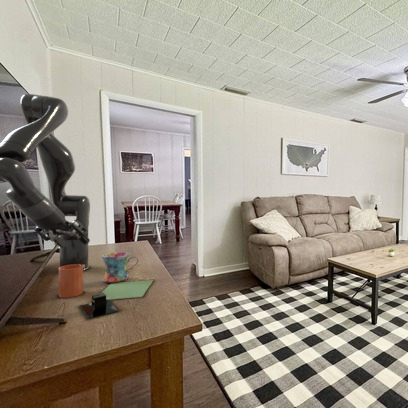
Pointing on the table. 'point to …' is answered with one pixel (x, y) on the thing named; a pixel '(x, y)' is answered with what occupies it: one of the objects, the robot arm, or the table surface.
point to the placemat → (126, 289)
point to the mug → (116, 267)
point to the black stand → (98, 306)
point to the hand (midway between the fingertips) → (76, 244)
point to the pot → (70, 280)
